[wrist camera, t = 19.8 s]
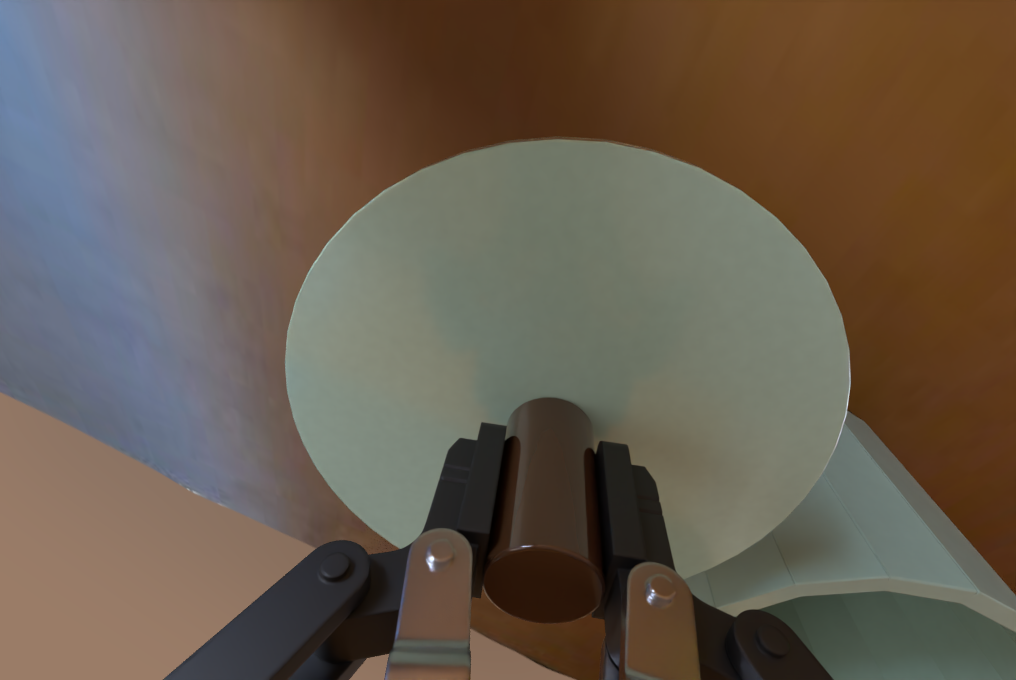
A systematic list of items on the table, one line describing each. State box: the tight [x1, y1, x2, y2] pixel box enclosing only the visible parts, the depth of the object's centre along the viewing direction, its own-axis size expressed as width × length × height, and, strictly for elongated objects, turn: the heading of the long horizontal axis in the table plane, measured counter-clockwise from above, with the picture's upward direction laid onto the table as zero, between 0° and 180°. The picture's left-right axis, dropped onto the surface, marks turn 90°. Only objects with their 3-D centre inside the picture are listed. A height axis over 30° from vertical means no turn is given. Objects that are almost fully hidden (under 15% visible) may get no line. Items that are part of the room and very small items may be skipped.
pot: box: [684, 410, 1016, 680], centre depth 25 cm, size 15×15×12 cm
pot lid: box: [285, 136, 851, 624], centre depth 13 cm, size 16×16×6 cm
